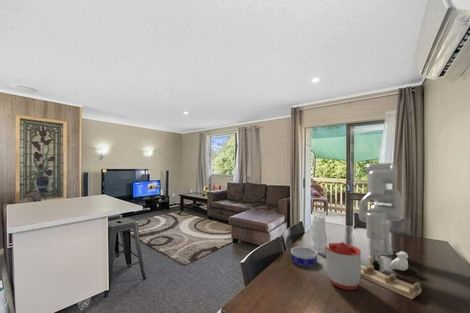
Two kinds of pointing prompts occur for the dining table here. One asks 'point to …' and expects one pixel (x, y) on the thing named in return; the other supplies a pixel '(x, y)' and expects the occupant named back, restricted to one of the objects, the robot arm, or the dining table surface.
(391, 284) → the wooden rack
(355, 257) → the citrus juicer
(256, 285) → the dining table surface
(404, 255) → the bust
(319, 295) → the dining table surface
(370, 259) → the frame block
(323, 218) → the white crystal cluster
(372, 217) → the robot arm
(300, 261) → the dog bowl
